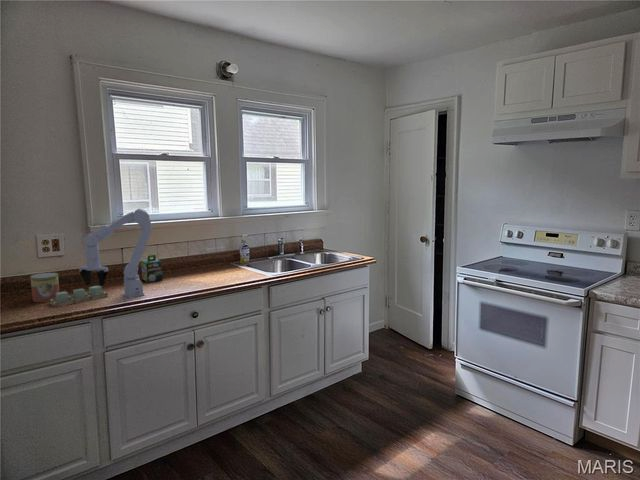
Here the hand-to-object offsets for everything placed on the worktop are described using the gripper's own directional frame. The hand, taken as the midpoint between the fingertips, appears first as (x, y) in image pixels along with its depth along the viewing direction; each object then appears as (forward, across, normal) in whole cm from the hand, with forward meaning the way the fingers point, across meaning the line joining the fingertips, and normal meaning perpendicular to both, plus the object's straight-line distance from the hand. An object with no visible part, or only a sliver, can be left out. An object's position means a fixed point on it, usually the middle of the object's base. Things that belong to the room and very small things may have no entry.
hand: (95, 285), depth 204 cm
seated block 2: (+6, +4, +6) cm, 10 cm away
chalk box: (+7, -7, -38) cm, 40 cm away
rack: (+6, +4, +6) cm, 10 cm away
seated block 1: (+6, +8, +12) cm, 16 cm away
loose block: (+6, 0, 0) cm, 6 cm away
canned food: (+6, +21, +8) cm, 23 cm away
